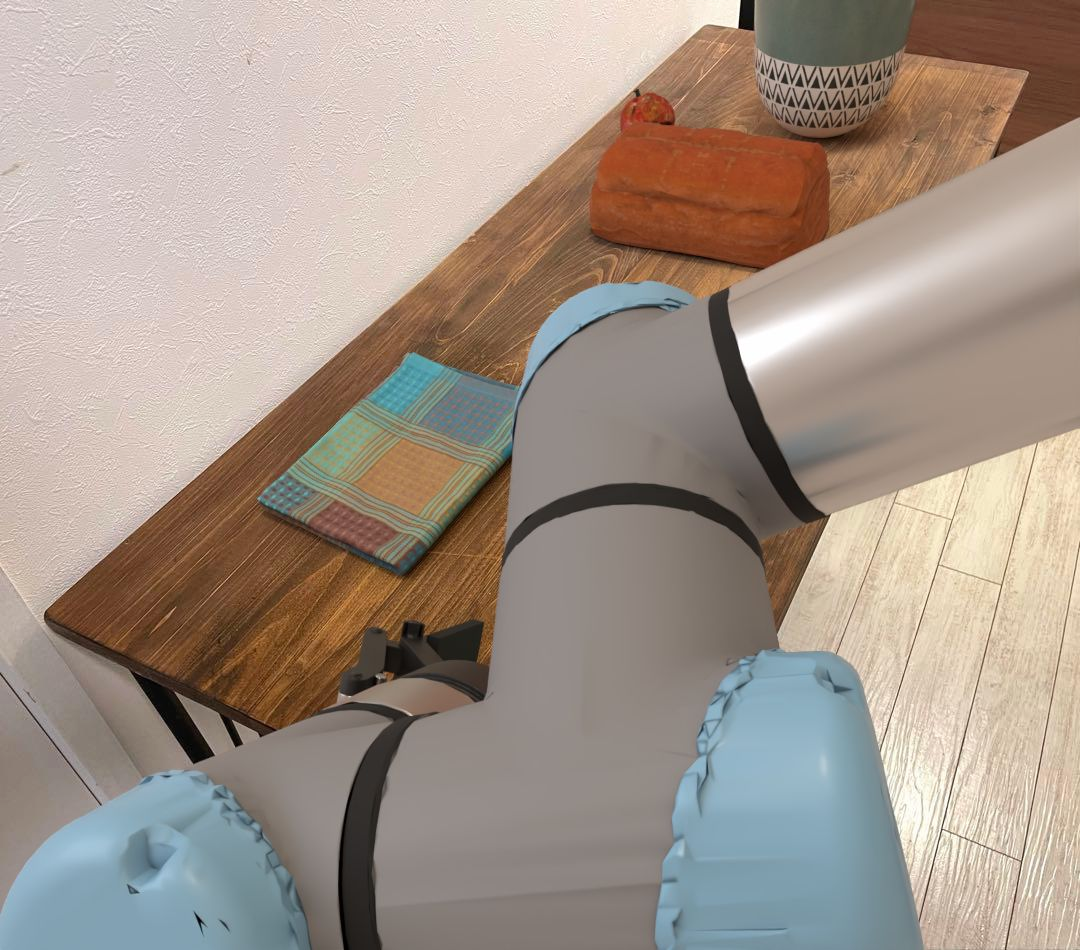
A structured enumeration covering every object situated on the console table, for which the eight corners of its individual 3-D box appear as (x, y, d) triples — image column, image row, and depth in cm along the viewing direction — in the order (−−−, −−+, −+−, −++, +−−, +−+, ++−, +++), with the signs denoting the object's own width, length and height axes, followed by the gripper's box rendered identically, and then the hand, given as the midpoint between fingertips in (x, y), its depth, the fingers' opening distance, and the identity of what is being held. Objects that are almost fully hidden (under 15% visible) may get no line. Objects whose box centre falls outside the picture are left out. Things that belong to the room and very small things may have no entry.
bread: (802, 283, 100) (814, 193, 92) (578, 243, 109) (573, 159, 102) (836, 213, 109) (849, 127, 102) (628, 182, 119) (626, 102, 111)
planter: (890, 166, 116) (925, -17, 101) (733, 157, 121) (744, -18, 106) (897, 101, 129) (930, -70, 114) (755, 95, 134) (768, -69, 119)
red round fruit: (680, 163, 126) (668, 97, 127) (681, 138, 119) (669, 67, 120) (627, 174, 127) (615, 108, 128) (625, 149, 120) (613, 79, 121)
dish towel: (555, 412, 88) (553, 392, 86) (407, 582, 75) (401, 562, 73) (414, 364, 95) (410, 345, 94) (256, 511, 82) (248, 491, 80)
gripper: (130, 780, 37) (380, 678, 57) (753, 1010, 29) (787, 798, 49) (162, 598, 36) (402, 560, 57) (800, 782, 29) (815, 663, 49)
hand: (581, 671), depth 53 cm, fingers open, 13 cm apart
